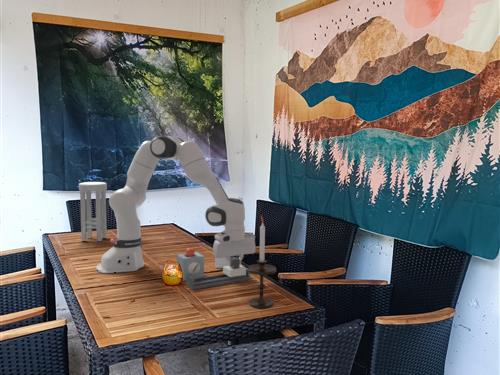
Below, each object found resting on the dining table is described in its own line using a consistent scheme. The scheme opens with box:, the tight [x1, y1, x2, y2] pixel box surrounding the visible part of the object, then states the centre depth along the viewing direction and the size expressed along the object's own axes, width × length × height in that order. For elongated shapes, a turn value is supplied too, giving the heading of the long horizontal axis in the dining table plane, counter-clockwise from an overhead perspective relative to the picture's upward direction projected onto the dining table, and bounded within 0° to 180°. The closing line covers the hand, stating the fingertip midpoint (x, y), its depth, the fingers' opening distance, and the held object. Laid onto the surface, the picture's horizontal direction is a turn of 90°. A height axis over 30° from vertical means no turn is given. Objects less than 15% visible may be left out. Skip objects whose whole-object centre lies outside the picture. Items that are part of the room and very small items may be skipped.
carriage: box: [222, 256, 247, 277], centre depth 199 cm, size 8×7×7 cm
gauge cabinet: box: [176, 251, 205, 282], centre depth 201 cm, size 10×9×10 cm
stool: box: [78, 181, 108, 242], centre depth 268 cm, size 16×16×35 cm
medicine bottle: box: [214, 256, 234, 269], centre depth 218 cm, size 7×7×12 cm
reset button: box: [185, 247, 196, 257], centre depth 201 cm, size 4×4×4 cm
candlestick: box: [247, 215, 277, 310], centre depth 168 cm, size 11×11×35 cm
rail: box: [185, 267, 251, 291], centre depth 195 cm, size 28×8×4 cm, turn 120°
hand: (234, 264), depth 198 cm, fingers closed on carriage, 3 cm apart
